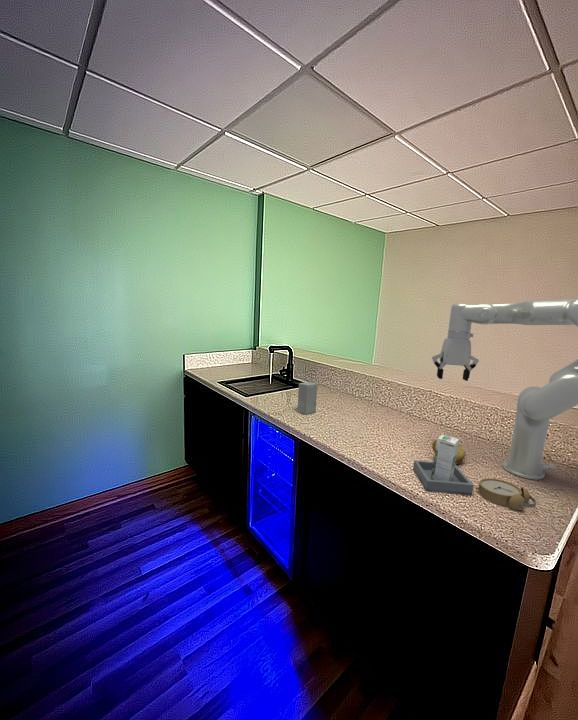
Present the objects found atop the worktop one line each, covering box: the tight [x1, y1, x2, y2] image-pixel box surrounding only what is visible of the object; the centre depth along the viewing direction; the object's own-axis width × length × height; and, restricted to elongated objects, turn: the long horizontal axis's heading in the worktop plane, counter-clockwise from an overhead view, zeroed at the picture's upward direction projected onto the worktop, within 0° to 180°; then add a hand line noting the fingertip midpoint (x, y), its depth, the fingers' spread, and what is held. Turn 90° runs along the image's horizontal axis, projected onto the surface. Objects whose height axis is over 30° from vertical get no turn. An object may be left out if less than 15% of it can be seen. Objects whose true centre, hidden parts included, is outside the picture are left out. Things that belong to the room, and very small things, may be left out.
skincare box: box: [297, 381, 318, 416], centre depth 171 cm, size 8×7×16 cm
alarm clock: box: [474, 477, 537, 511], centre depth 99 cm, size 11×5×15 cm
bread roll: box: [432, 439, 466, 465], centre depth 123 cm, size 13×10×8 cm
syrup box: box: [431, 434, 460, 481], centre depth 106 cm, size 6×6×14 cm
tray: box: [412, 459, 475, 496], centre depth 107 cm, size 14×14×4 cm
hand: (452, 379), depth 127 cm, fingers open, 9 cm apart
